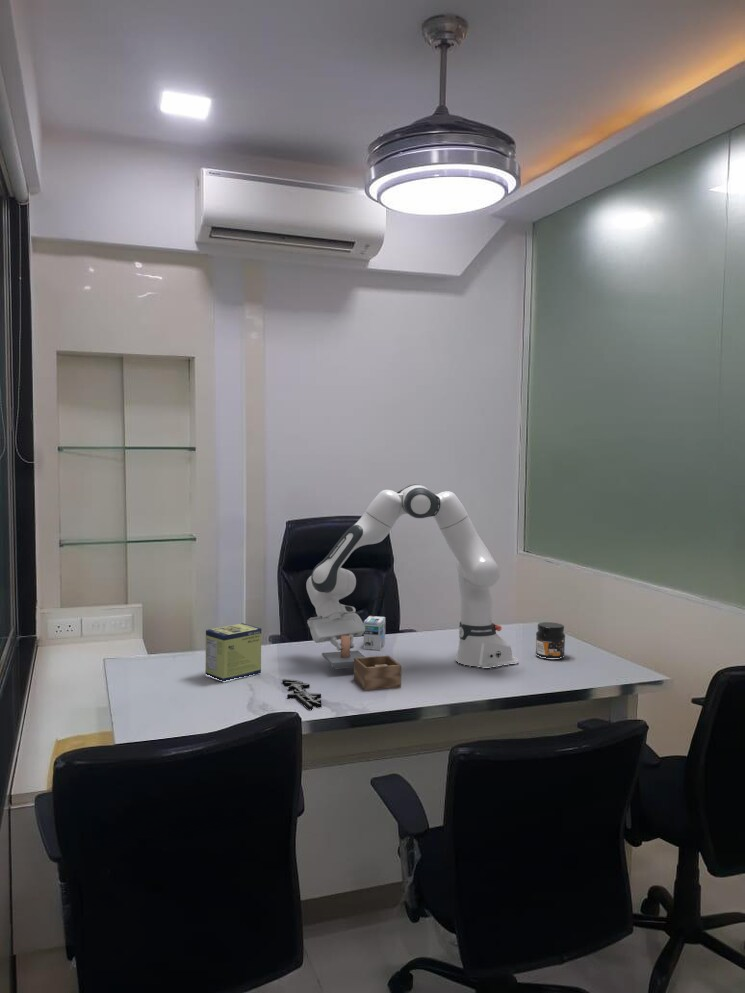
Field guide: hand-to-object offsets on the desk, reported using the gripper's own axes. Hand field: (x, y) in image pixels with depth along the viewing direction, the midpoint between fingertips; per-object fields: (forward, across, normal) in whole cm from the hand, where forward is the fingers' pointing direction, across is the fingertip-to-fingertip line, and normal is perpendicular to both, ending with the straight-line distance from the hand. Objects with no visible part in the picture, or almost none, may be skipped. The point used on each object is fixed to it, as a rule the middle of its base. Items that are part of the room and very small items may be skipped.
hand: (346, 648), depth 257 cm
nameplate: (+16, -26, -4) cm, 31 cm away
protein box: (-6, -34, +17) cm, 39 cm away
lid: (+3, 0, +4) cm, 5 cm away
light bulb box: (-9, +27, +20) cm, 35 cm away
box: (+18, 0, -7) cm, 19 cm away
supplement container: (+25, +73, -14) cm, 78 cm away
